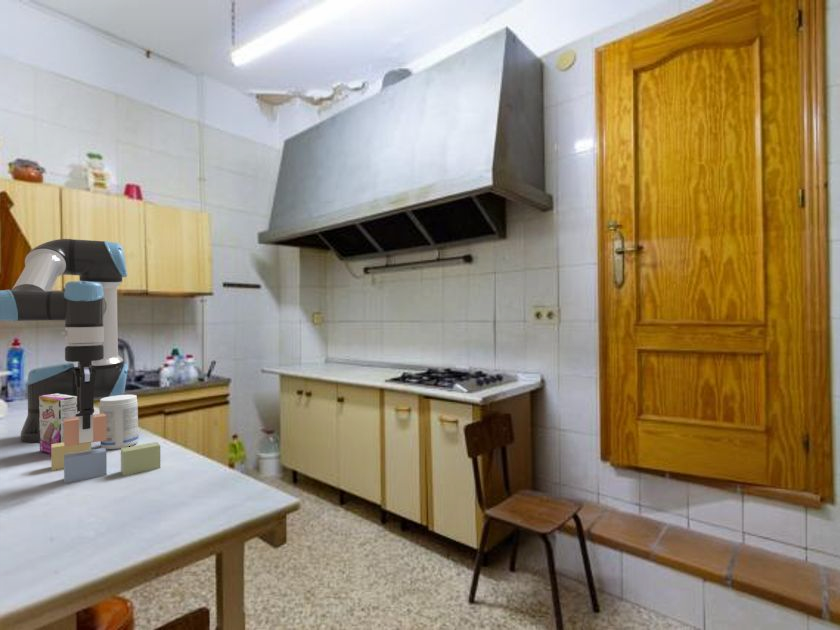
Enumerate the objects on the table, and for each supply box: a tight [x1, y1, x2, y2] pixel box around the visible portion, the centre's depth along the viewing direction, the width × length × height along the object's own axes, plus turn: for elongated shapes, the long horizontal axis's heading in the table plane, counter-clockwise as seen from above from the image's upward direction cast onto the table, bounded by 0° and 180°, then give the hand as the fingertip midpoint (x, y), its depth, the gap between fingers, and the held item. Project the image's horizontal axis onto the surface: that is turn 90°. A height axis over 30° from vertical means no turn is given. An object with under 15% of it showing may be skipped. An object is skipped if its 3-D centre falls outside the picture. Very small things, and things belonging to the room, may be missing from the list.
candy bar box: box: [39, 393, 78, 455], centre depth 125 cm, size 11×5×16 cm, turn 65°
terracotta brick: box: [64, 413, 107, 447], centre depth 106 cm, size 8×4×6 cm, turn 132°
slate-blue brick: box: [63, 447, 108, 484], centre depth 106 cm, size 8×4×6 cm, turn 132°
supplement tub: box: [98, 394, 140, 450], centre depth 132 cm, size 10×10×15 cm
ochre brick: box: [50, 442, 92, 471], centre depth 115 cm, size 8×4×6 cm, turn 132°
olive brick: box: [120, 441, 161, 477], centre depth 111 cm, size 8×4×6 cm, turn 132°
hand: (85, 439), depth 106 cm, fingers closed on terracotta brick, 4 cm apart
